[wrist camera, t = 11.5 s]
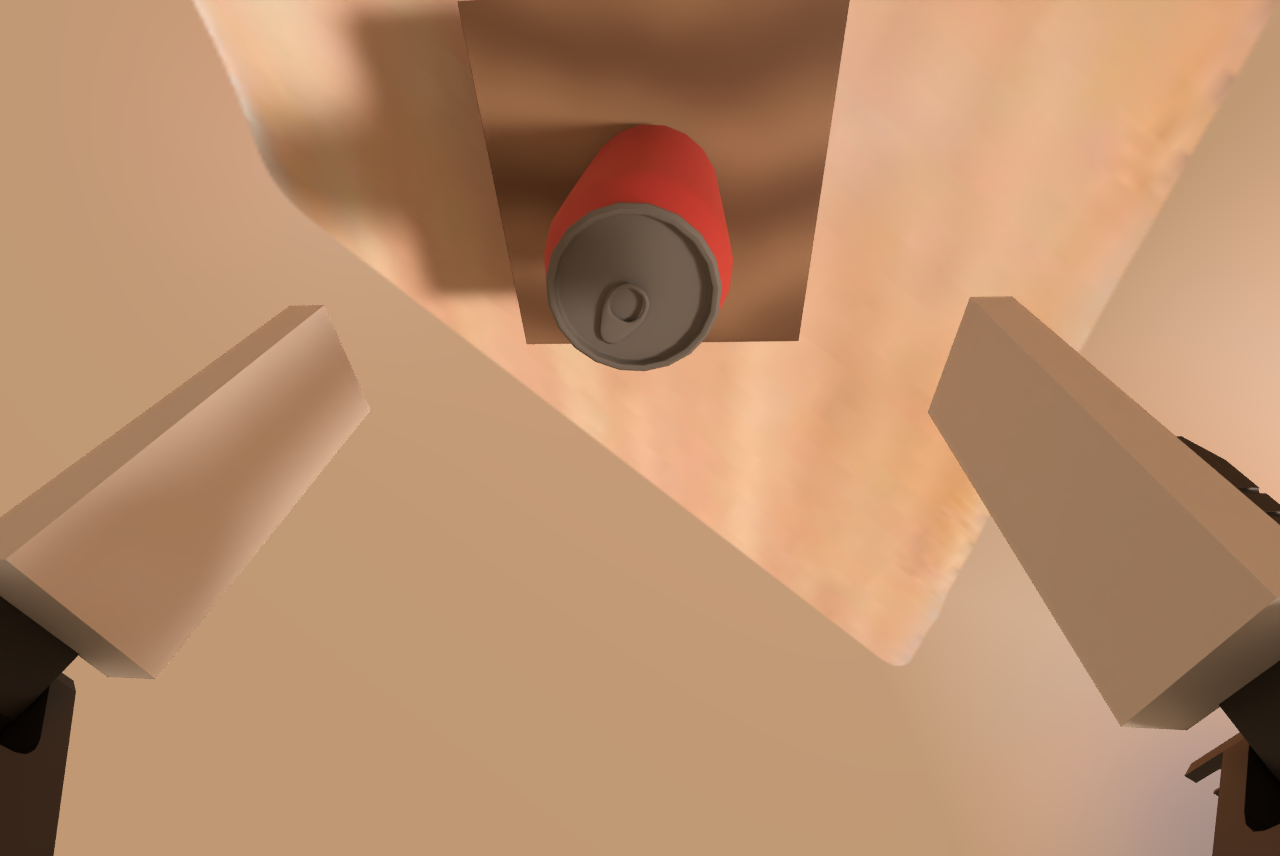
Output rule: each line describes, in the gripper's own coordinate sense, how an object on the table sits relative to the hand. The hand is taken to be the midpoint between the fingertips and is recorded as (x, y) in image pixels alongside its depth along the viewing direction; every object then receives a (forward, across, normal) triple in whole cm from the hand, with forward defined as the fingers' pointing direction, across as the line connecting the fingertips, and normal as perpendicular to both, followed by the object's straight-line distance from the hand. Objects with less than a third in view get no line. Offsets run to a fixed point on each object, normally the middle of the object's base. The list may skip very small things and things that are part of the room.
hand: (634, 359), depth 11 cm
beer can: (+18, 0, -1) cm, 18 cm away
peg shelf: (+25, 0, -1) cm, 25 cm away
